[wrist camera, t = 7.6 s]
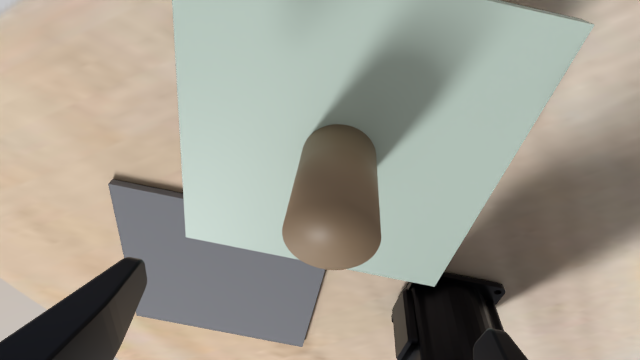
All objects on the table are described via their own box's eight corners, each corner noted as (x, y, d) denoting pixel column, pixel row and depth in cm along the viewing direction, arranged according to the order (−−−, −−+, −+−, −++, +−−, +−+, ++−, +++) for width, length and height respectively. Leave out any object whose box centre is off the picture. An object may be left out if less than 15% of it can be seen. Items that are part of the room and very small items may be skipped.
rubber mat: (337, 224, 24) (336, 229, 23) (302, 341, 33) (302, 346, 32) (112, 179, 23) (108, 183, 23) (139, 310, 32) (136, 315, 32)
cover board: (581, 18, 11) (712, 76, 7) (432, 274, 19) (452, 376, 15) (179, -73, 11) (63, -70, 7) (191, 226, 19) (141, 316, 14)
